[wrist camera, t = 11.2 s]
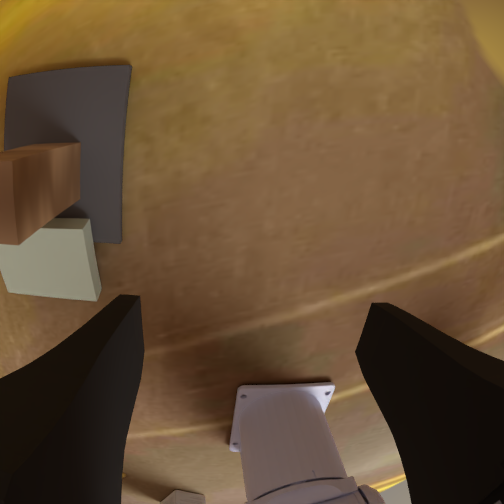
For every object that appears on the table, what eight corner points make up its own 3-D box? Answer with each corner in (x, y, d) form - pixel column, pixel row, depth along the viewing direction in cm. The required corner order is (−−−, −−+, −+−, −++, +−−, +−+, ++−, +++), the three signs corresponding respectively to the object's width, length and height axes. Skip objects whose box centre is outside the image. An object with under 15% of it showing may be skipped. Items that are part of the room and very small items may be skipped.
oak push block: (80, 198, 16) (18, 245, 10) (34, 198, 16) (-36, 240, 9) (80, 142, 15) (12, 160, 9) (33, 144, 14) (-43, 165, 8)
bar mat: (122, 240, 18) (119, 243, 18) (13, 233, 17) (9, 236, 16) (132, 66, 14) (129, 64, 14) (13, 77, 13) (8, 77, 12)
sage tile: (97, 301, 18) (82, 229, 15) (8, 292, 17) (-13, 227, 14) (102, 287, 19) (90, 217, 16) (16, 280, 18) (-3, 216, 15)
